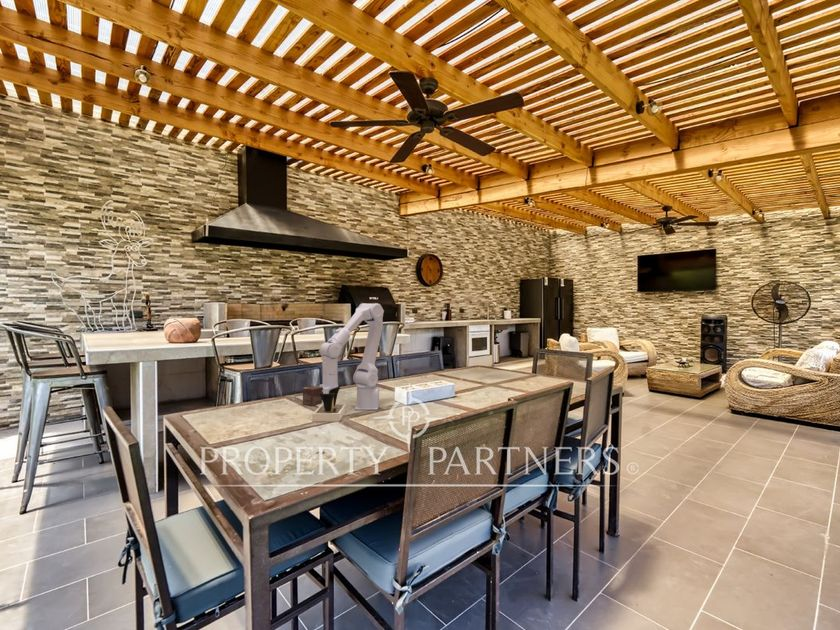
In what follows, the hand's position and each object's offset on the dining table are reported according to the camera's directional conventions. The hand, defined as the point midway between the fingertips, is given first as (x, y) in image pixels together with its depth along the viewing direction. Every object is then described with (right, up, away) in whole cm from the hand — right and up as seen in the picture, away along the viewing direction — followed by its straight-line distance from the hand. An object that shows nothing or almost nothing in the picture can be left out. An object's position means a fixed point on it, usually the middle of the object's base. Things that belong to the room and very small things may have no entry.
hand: (330, 408), depth 158 cm
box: (-12, -3, +19) cm, 23 cm away
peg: (0, -3, 0) cm, 3 cm away
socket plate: (0, -3, 0) cm, 3 cm away
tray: (0, -3, 0) cm, 3 cm away
